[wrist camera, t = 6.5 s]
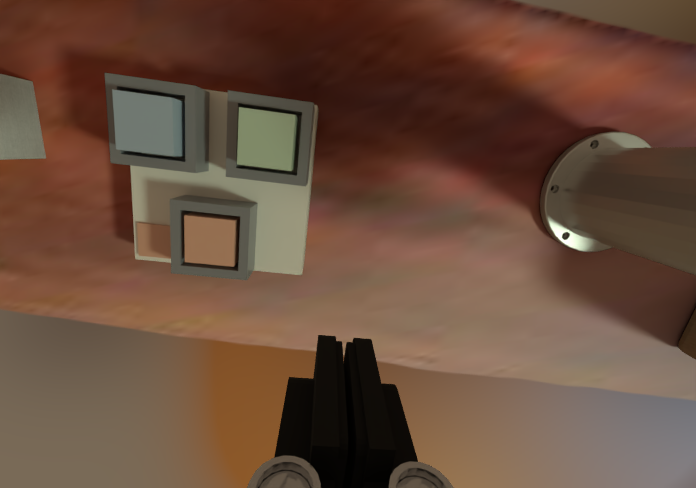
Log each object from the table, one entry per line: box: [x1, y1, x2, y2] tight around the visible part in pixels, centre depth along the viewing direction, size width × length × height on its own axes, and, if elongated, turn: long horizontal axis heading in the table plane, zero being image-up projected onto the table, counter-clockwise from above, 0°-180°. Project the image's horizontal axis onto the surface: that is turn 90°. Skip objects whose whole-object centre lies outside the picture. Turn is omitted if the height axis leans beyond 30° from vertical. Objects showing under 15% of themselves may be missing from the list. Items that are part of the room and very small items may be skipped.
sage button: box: [237, 107, 298, 171], centre depth 26 cm, size 4×4×2 cm
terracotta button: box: [184, 211, 240, 267], centre depth 29 cm, size 4×4×2 cm
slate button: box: [112, 89, 185, 156], centre depth 25 cm, size 4×4×2 cm
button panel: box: [105, 73, 318, 280], centre depth 30 cm, size 16×16×6 cm
